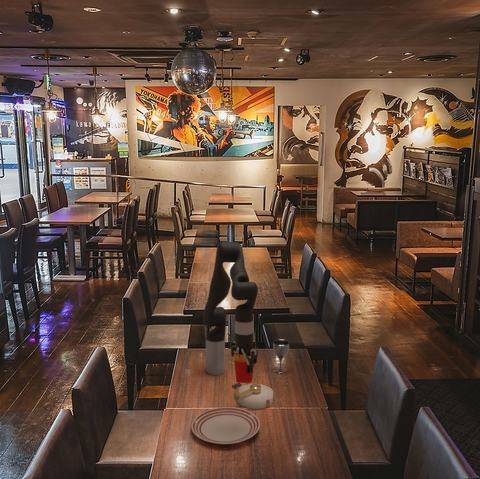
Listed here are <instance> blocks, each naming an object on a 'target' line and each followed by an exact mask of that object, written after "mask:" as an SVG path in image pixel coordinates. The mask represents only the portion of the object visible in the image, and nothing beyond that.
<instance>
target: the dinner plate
mask: <svg viewBox="0 0 480 479" xmlns="http://www.w3.org/2000/svg"><path fill="white" fill-rule="evenodd" d="M190 427H191V431H192V433H193V434H194V435H195V436H196V437H197V438H198V439H199V440H202V441H203V442H204V441H205V442H208V443H212V444H217V445H232V444H233V445H234V444H239V443H242V442H245V441H247V440H249V439H252V437H254V436H255V435H256V434H257V433H258V432H259V430H260V428H261V421H260V419H259V417H258V416H257V415H256V414H254V413H253V412H251V411H248V410H246V409H243V408H240V407H233V406H230V407H229V406H227V407H226V406H223V407H222V406H220V407H216V408H210V409H208V410H205V411H203V412H201V413H200V414H198V415H196V417H195V418H194V419H193V420H192V422H191V426H190Z"/></svg>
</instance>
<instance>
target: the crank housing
mask: <svg viewBox="0 0 480 479" xmlns="http://www.w3.org/2000/svg"><path fill="white" fill-rule="evenodd" d="M252 384H253V383H247V384H244V385H241V386H240V387H239V393H241V392H243V391H246V390H248V389H250V385H252ZM257 384H258V385H260V386H261V392H260V393H259V394H251V395H248V396H246V397H243V398H241V399H239V400H236V401H237V403H238V405H240V406H241V407H244V408H246V409H250V410H262V409H267V408H268V407H271V405H273V403H274V390H273V389H272V388H271V387H269V386H267V385H265V384H261V383H257Z"/></svg>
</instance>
